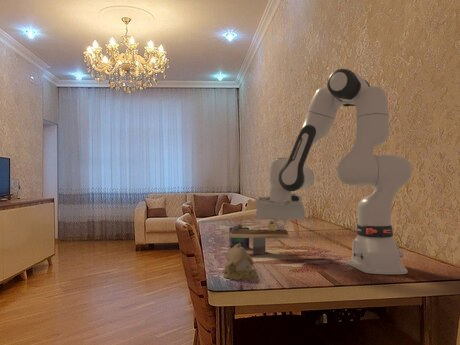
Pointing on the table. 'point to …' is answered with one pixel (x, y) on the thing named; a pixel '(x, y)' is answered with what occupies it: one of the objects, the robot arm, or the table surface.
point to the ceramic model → (239, 264)
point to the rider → (271, 226)
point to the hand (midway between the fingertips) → (280, 230)
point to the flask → (234, 241)
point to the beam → (258, 237)
